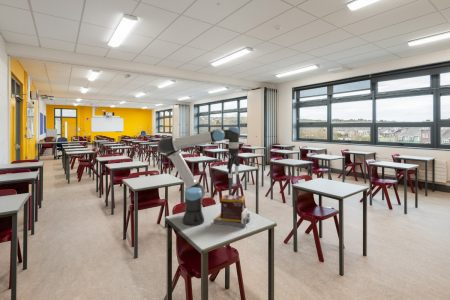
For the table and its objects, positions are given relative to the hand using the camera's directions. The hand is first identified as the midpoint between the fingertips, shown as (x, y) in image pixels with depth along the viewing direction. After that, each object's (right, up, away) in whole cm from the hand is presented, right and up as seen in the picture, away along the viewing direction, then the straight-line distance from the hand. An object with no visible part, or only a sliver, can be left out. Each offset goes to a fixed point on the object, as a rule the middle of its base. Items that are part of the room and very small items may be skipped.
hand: (233, 176), depth 182 cm
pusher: (+9, -32, -13) cm, 35 cm away
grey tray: (-1, -32, -9) cm, 33 cm away
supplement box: (-1, -30, -9) cm, 31 cm away
